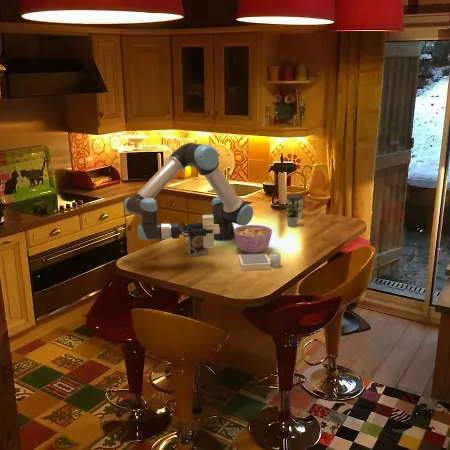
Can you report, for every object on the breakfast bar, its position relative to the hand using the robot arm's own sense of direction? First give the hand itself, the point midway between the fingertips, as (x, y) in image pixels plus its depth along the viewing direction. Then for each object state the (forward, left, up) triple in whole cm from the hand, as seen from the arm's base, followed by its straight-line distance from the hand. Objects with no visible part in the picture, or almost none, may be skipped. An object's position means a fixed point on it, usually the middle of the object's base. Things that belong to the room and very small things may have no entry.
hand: (219, 228), depth 258 cm
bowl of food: (-18, +19, -19) cm, 32 cm away
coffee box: (-17, -10, -19) cm, 27 cm away
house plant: (-60, +49, -19) cm, 80 cm away
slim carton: (0, -5, -9) cm, 10 cm away
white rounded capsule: (+4, +27, -19) cm, 33 cm away
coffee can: (-80, +54, -19) cm, 98 cm away
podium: (+2, +17, -18) cm, 25 cm away
